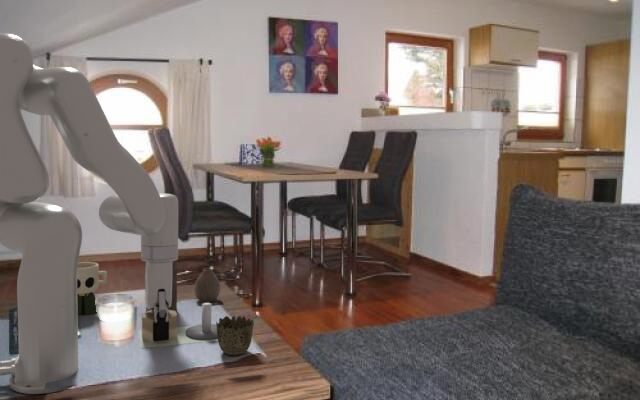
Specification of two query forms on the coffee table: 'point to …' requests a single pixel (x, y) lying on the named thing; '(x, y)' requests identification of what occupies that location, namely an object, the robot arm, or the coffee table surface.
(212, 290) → the vase
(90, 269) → the character mug
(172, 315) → the collar
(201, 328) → the hub board
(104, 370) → the coffee table surface
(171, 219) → the robot arm
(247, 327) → the fiber plant pot
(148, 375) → the coffee table surface
